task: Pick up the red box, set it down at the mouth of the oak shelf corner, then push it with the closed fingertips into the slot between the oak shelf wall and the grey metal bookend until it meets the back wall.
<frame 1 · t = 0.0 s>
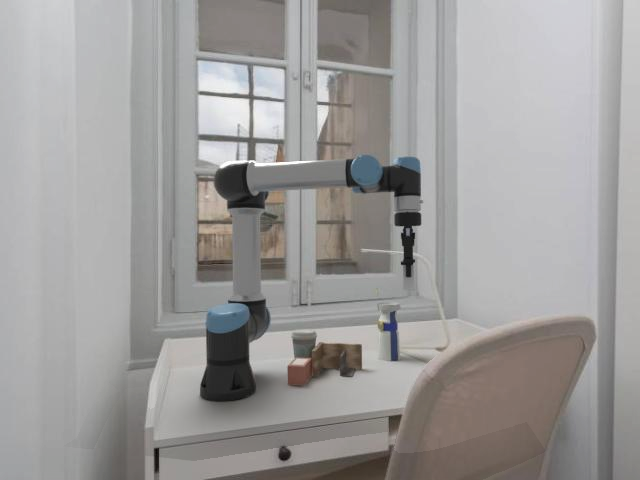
hand: (408, 287, 115), 28 cm above the table, fingers open, 13 cm apart
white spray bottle: (389, 358, 144), on the table
shelf: (338, 372, 128), on the table
coffee cup: (304, 368, 134), on the table
red box: (300, 380, 122), on the table
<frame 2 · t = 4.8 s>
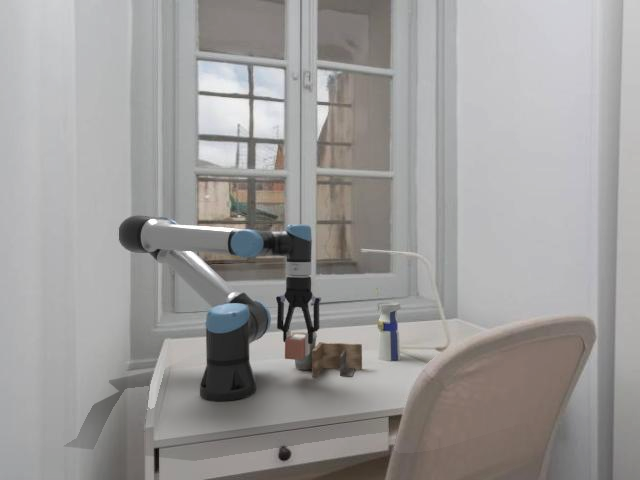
hand: (297, 353, 122), 8 cm above the table, fingers closed on red box, 5 cm apart
red box: (297, 355, 122), point 7 cm above the table, touching gripper
everything else where it was.
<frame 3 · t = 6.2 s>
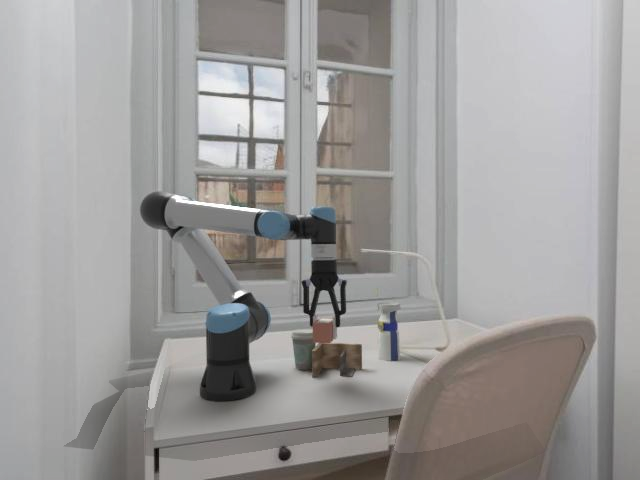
hand: (325, 337, 120), 13 cm above the table, fingers closed on red box, 5 cm apart
red box: (325, 339, 120), point 12 cm above the table, touching gripper
everything else where it was.
when the fingers open (1 cm above the table, at t = 7.7 s): red box stays where it is, on the table.
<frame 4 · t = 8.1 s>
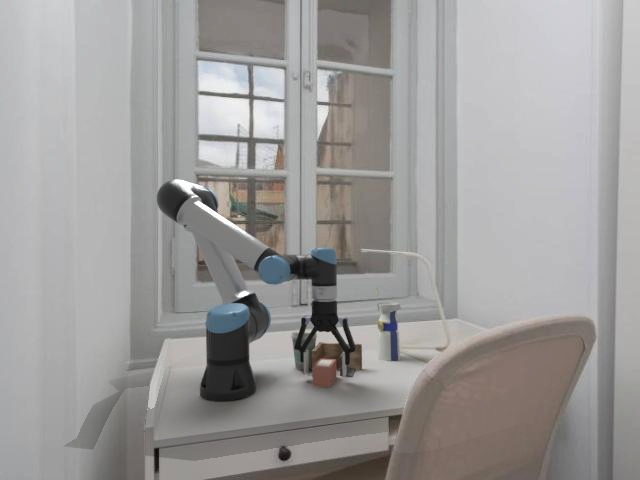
hand: (325, 374, 120), 2 cm above the table, fingers open, 11 cm apart
red box: (325, 381, 120), on the table
everything else where it was.
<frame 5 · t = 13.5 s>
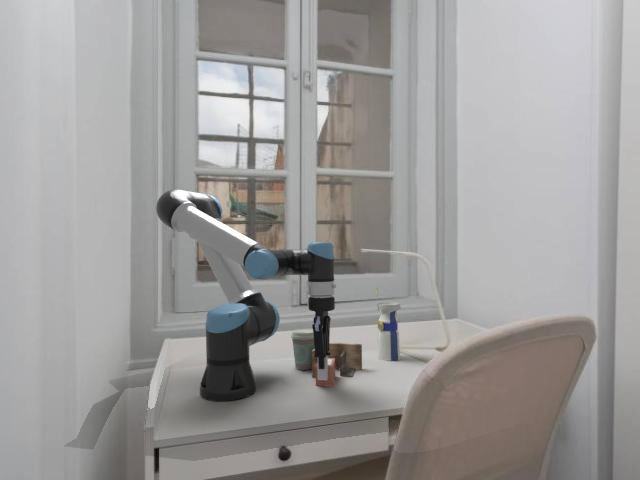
hand: (322, 379, 115), 2 cm above the table, fingers closed
red box: (325, 380, 121), on the table, touching gripper
everything else where it was.
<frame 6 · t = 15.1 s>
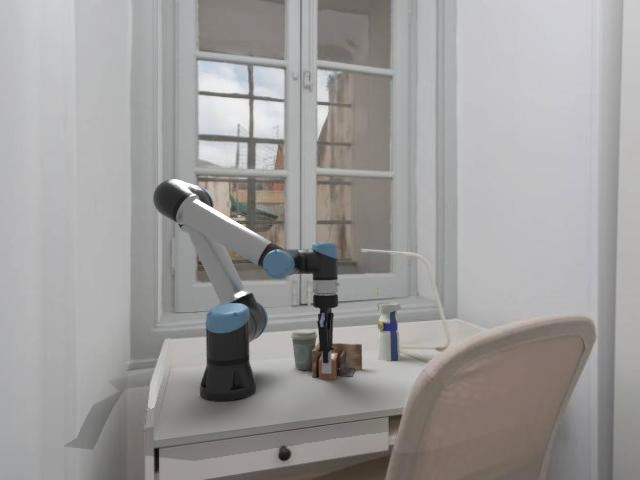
hand: (326, 372, 121), 2 cm above the table, fingers closed
red box: (328, 374, 127), on the table, touching gripper
everything else where it was.
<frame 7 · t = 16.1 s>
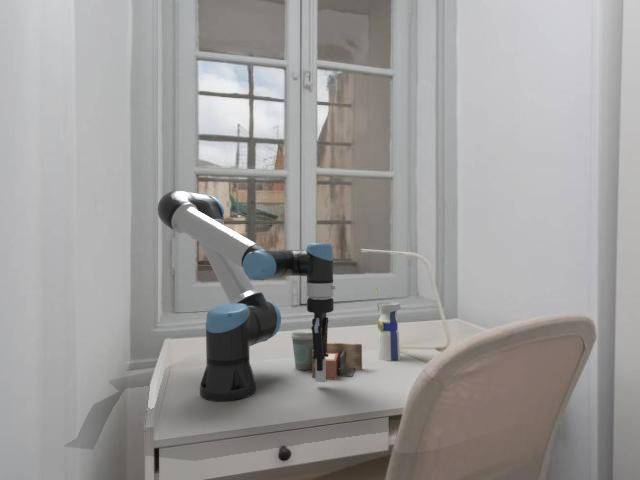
hand: (320, 380, 115), 2 cm above the table, fingers closed
red box: (329, 374, 127), on the table
everything else where it was.
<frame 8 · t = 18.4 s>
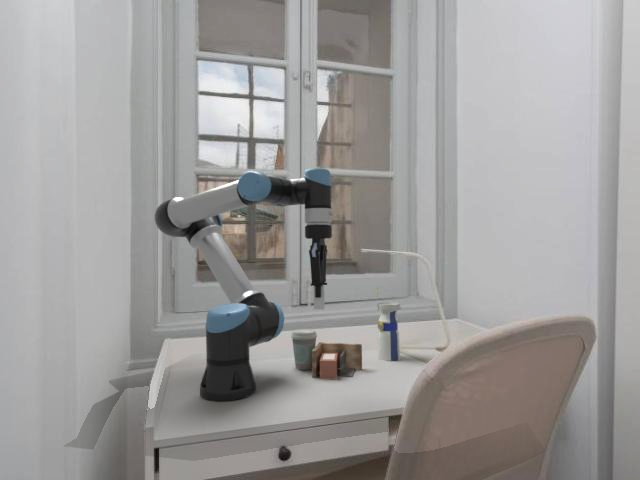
hand: (319, 308, 113), 22 cm above the table, fingers closed
nothing on the table moved.
at the end: red box 1.5 cm from the target spot, on the table; red box tilted 0°; the gripper is holding nothing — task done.
